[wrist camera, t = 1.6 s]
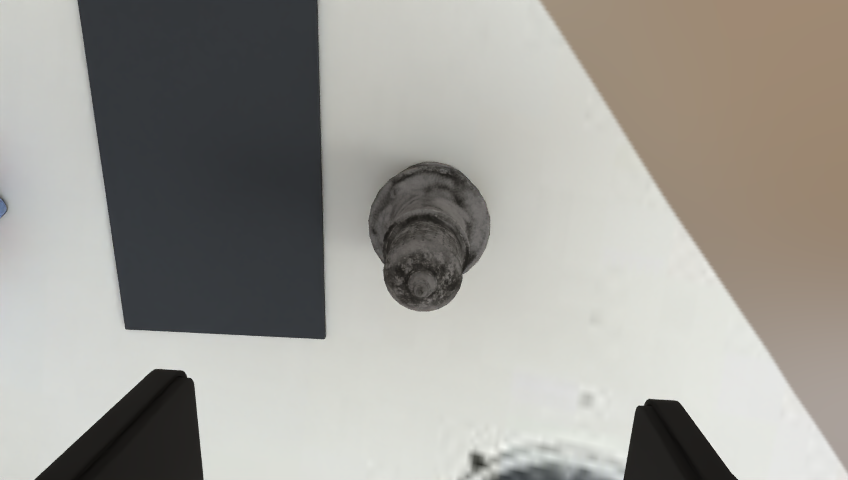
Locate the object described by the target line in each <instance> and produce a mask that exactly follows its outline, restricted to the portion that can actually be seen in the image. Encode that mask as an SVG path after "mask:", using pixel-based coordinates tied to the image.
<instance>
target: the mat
mask: <svg viewBox="0 0 848 480" xmlns="http://www.w3.org/2000/svg"><path fill="white" fill-rule="evenodd" d="M78 6H79V12H80V19H81V26H82V33H83V40H84V47H85V54H86V61H87V68H88V74H89V81H90V88H91V95H92V102H93V109H94V116H95V123H96V130H97V137H98V143H99V150H100V157H101V164H102V171H103V178H104V185H105V192H106V199H107V205H108V212H109V219H110V226H111V233H112V240H113V247H114V254H115V261H116V267H117V274H118V281H119V288H120V295H121V302H122V309H123V316H124V323H125V329H129V330H150V331H170V332H190V333H210V334H230V335H250V336H270V337H291V338H311V339H325V337H326V334H325V293H324V252H323V211H322V169H321V128H320V87H319V46H318V5H317V0H78Z"/></svg>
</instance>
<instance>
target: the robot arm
mask: <svg viewBox="0 0 848 480" xmlns="http://www.w3.org/2000/svg"><path fill="white" fill-rule="evenodd" d="M35 480H203V469H202V459H201V449H200V439H199V429H198V419H197V408H196V398H195V388H194V382H193V380H192V379H191V378H187V375H186V374H185V372H184V371H181V370H165V369H154V370H153V371H151V372H150V373H149V374H148V375H147V376H146V377H145V378H144V379H143V380H142V381H140V382H139V383H138V384H137V385H136V386H135V387H134V388H133V389H132V390H131V391H130V392H129V393H128V394H126V395H125V396H124V397H123V398H122V399H121V400H120V401H119V402H118V403H117V404H116V405H115V406H114V407H112V408H111V409H110V410H109V411H108V412H107V413H106V414H105V415H104V416H103V417H102V418H101V419H99V420H98V421H97V422H96V423H95V424H94V425H93V426H92V427H91V428H90V429H89V430H88V431H87V432H85V433H84V434H83V435H82V436H81V437H80V438H79V439H78V440H77V441H76V442H75V443H74V444H72V445H71V446H70V447H69V448H68V449H67V450H66V451H65V452H64V453H63V454H62V455H61V456H60V457H58V458H57V459H56V460H55V461H54V462H53V463H52V464H51V465H50V466H49V467H48V468H47V469H46V470H44V471H43V472H42V473H41V474H40V475H39V476H38V477H37V478H36V479H35ZM624 480H738V479H737V478H736V477H735V476H734V475H733V474H732V473H731V472H730V471H729V469H728V468H727V466H726V465H725V464H724V462H723V461H722V460H721V458H720V457H719V456H718V454H717V453H716V451H715V450H714V449H713V447H712V446H711V445H710V443H709V442H708V441H707V439H706V438H705V436H704V435H703V434H702V432H701V431H700V430H699V428H698V427H697V426H696V424H695V423H694V421H693V420H692V419H691V417H690V416H689V415H688V413H687V412H686V411H685V409H684V408H683V406H682V405H681V404H680V403H679V402H678V401H673V400H657V399H648V400H646V402H645V404H644V406H638V407H637V408H636V411H635V416H634V422H633V428H632V434H631V439H630V445H629V451H628V457H627V463H626V469H625V474H624Z"/></svg>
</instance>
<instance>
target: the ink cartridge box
mask: <svg viewBox="0 0 848 480" xmlns="http://www.w3.org/2000/svg"><path fill="white" fill-rule="evenodd" d="M6 210H7V208H6V205H5V203H4V202H3V200H2V199H1V198H0V218H1V217H2V216H3V215H4V213H5V212H6Z"/></svg>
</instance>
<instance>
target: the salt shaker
mask: <svg viewBox="0 0 848 480" xmlns="http://www.w3.org/2000/svg"><path fill="white" fill-rule="evenodd" d="M368 221H369V236H370V239H371V242H372V245H373V248H374V250H375V252H376V253H377V255H378V256H379V258H380V259H381V261H382V262H383V263H384V269H383V272H384V281H385V284H386V286H387V289H388V291H389V293H390V294H391V296H392V297H393V298H394V299H395V300H396V301H397V302H398V303H399V304H401V305H402V306H404V307H406V308H408V309H411V310H416V311H433V310H437V309H439V308H441V307H443V306H445V305H447V304H448V303H449V302H450V301H451V300H452V299H453V298H454V297H455V295H456V294H457V292H458V290H459V289H460V286H461V282H462V279H463V278H462V274H464V273H466V272H467V271H468V270H469V269H470V268H471V267H473V266H474V265H475V264H476V263H477V262H478V260H479V259H480V257H481V255H482V254H483V252H484V250H485V249H486V245H487V242H488V238H489V235H490V216H489V213H488V209H487V205H486V202H485V200H484V199H483V197H482V195H481V194H480V192H479V190H478V189H477V188H476V187H475V186H474V185H473V184H472V183H471V182H470V180H469V179H468V178H467V177H466V176H465V175H464V174H462V173H461V172H460V171H459V170H457V169H455V168H453V167H451V166H450V165H446V164H442V163H438V162H424V163H420V164H417V165H413V166H411V167H409V168H407V169H406V170H404V171H402V172H401V173H399V174H398V175H396V176H395V177H393V178H391V179H390V180H389V181H388V182H387V183H386V184H385V185H384V186H383V187H382V188H381V189H380V191H379V192H378V194H377V196H376V198H375V200H374V202H373V204H372V206H371V211H370V215H369V220H368Z"/></svg>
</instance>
